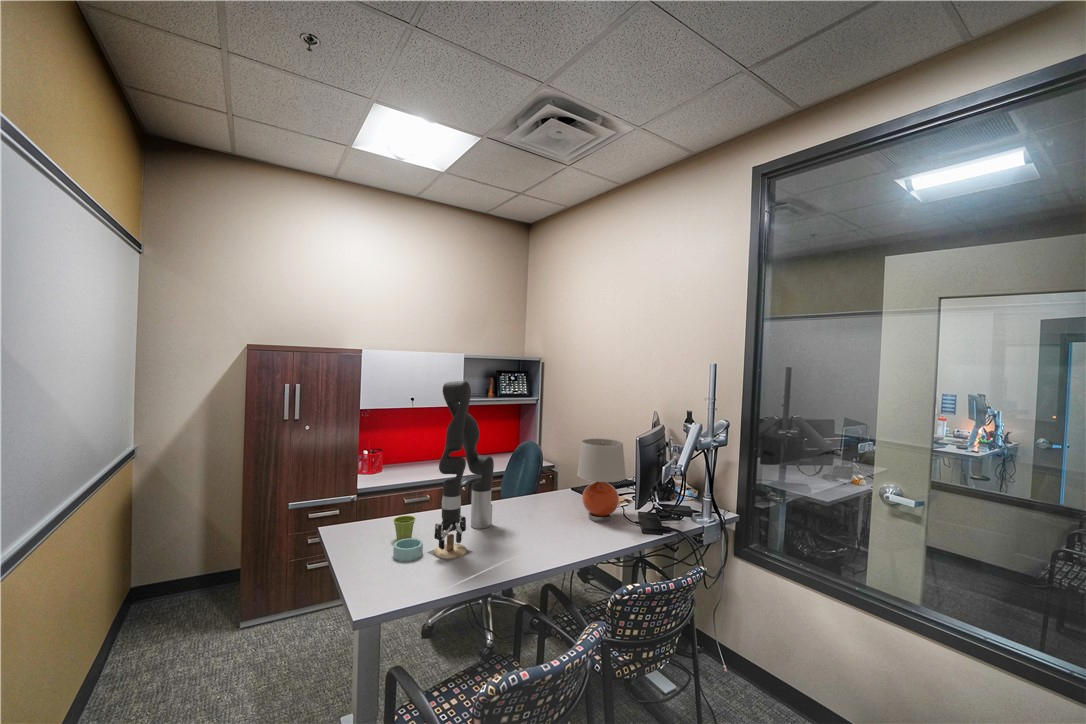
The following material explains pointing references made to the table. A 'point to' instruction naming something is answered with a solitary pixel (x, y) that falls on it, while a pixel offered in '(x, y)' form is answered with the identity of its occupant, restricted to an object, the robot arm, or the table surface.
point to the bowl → (408, 549)
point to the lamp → (601, 476)
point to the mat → (449, 559)
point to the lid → (450, 549)
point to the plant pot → (404, 526)
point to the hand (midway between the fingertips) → (450, 545)
